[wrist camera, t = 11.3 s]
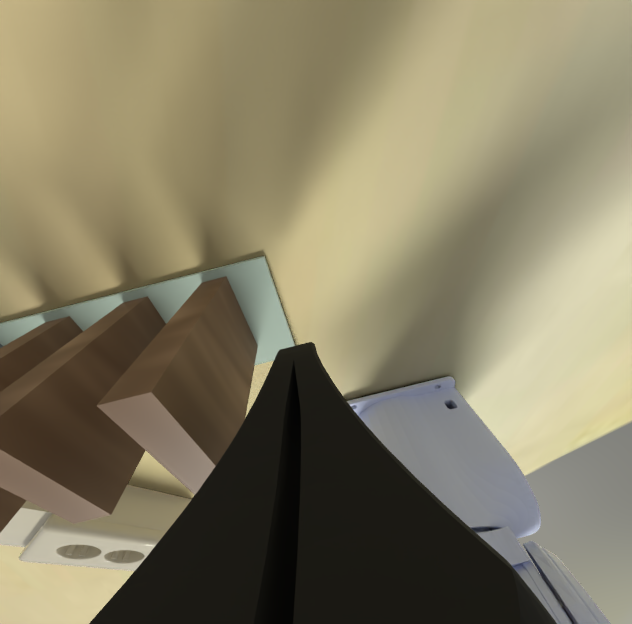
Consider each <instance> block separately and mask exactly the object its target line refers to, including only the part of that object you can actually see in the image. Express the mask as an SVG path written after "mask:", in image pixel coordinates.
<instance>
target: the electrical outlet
mask: <svg viewBox="0 0 632 624" xmlns="http://www.w3.org/2000/svg"><path fill="white" fill-rule="evenodd" d="M191 500H192V499H188V498H184V497H180V496H175V495H171V494H167V493H162V492H158V491H153V490H149V489H145V488H140V487H136V486H132V485H127V486H126V488H125V490H124V492H123V494H122V496H121V497H120V499H119V501H118V503H117V505H116V507H115V509H114V511H113V513H112V514H111V515H109V516H105V517H100V518H96V519H92V520H88V521H84V522H80V523H75V524H73V523H71V522H69V521H67V520H65V519H63V518H61V517H59V516H57V515H55V514H53V513H51V512H49V511H47V510H45V509H43V508H41V507H39V506H37V505H35V504H33V503H31V502H29V501H26V502H25V503H24V505H23V506H22V507H21V508H20V509H19V511H18V512H17V513H16V514H15V516H14V517H13V518H12V519H11V520H10V522H9V523H8V524H7V525H6V527H5V528H4V529H3V530H2V531H1V533H0V545H7V546H17V547H25V548H24V549H23V551H22V552H21V553H20V556H19V560H20V561H23V562H33V563H45V564H57V565H68V566H80V567H92V568H104V569H115V570H127V571H135V570H136V569H137V568H138V567H139V565H140V564H141V563H142V562H143V561H144V559H145V558H146V557H147V556H148V555H149V553H150V552H151V551H152V549H153V548H154V547H155V546H156V544H157V543H158V542H159V541H160V539H161V538H162V537H163V536H164V534H165V533H166V532H167V531H168V529H169V528H170V527H171V526H172V524H173V523H174V522H175V521H176V519H177V518H178V517H179V516H180V514H181V513H182V512H183V510H184V509H185V508H186V506H187V505H188V504H189V503H190V501H191Z"/></svg>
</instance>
